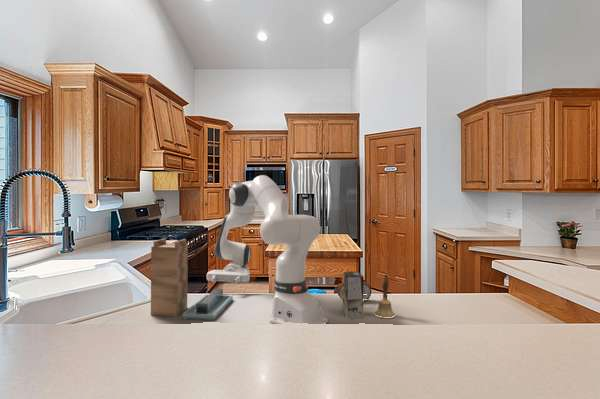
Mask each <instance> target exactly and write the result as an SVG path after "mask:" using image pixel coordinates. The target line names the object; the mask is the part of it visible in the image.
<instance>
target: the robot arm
mask: <svg viewBox="0 0 600 399" xmlns="http://www.w3.org/2000/svg"><path fill="white" fill-rule="evenodd" d="M228 198H229V200H230V203H231V204H232V205H231V211H230V213H226V215H225V216H224V218H223V219H222V223H221V227H220V229H219V234H218V237H217V241H216V243H215V245H214V249H213V253H214V255H215V256H216V258H217V259H221V260H229V261H231V262H229V263H228V264H227V265H226V266H225V267H224V268H223V269H212V270H210V271H209V270H208V272H207V273H206V280H207V281H209V282H210V281H211V282H213V283H217V282H228V283H232V284H237V283H249V282H250V267H249V266H247V265H248V264H249V263H250V260H251V255H252V252H251V248H250V246H249V244H247V243H243V242H238V241H237V242H236V241H232V240H229V239H228V236H229V235H228V234H229V232H230V230H231V229H233V228H240V227H244V226H247V225H249V224H250V223H252V221H253V219H254V218H255V214H256V213H255V211H256V206H259V208H260V209H261V212H262V214H263V215H264V218H263V220H262V221H261V223H260V226H259V235H260V238H261V239H262V241H263V243H265V244H268V245H274V246H280V245H281V246H283V245H286V247H285V249H284V250H283V251H282V253H281V254H279V255H278V256H277V258H276V261H275V279H274V283H273V286H274V290H275V291H274V295H273V301H272V309H271V314H270V318H269V323H271V324H275V325H278V324H288V323H293V324H294V323H301V324H302V323H308V324H324V323H327V324H328V322H329V321H328V320H329V319H328V318H327V317H325V316H323V315H322V308H321V305H320V303H319V302H318V301H317V300H316V299H315V297H313V296H312V294H311V293H310V292H309V289H308V288H309V287H311V286H310V285H311V284H310V283H307V282H306V279H305V275H306V274H305V272H306V261H307V255H308V252H309V250H310V248H311V246H312V244H313V243H314V241H315V240H317V238H318V237H319V235H320V233H321V232H320V231H321V225H320V221H319V220H318V218H316V217H315V216H313V215H308V214H290V213H287V212H288V210H289V206H290V203H289V202H290V201H289V199H288V198H287V197H286V195H285V194H284V193H283V191H282V190H281V189H280V186H278V185H277V183H276V182H275V181H274V180H273V179H272V178H270V177H269V176H268V175H265V174H263V175H262V174H261V175H258V176H256V177H254V178H253V180H248V181H242V182H236V183H232V185H230V187H229V190H228Z"/></svg>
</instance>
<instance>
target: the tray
mask: <svg viewBox="0 0 600 399" xmlns="http://www.w3.org/2000/svg"><path fill="white" fill-rule="evenodd" d="M208 295H209V294H204V295H203V296H202V297H201V298H199V299H198V300H197V301H196V302H195V303H194V304H192V305H191V306H190V307H188V309H187V308H186V309H185V310H184V312H182V317H181V318H182V320H194V319H204V320H203V321H213V320H214V321H215V320H216V319H217V318H218V317H219V316H220V314H221V313H222V312H224V310H225V309H226V308H227V307H228V306H229V305H230V304H231V303H232V301H233V295H225V294H223V296H222V297H221V298H220V299H219V300H218V302H217V303H216V304H215V305H214V306H213V307H212V308H211V310H210V311H209V312H208V314H198V313H196V303H201V302H202V301H203V300H204V299H205V298H206V297H207V296H208ZM184 318H186V319H184Z"/></svg>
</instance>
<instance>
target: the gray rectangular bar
mask: <svg viewBox="0 0 600 399" xmlns="http://www.w3.org/2000/svg"><path fill="white" fill-rule="evenodd" d="M223 290H224V289H223V288H214V289H213V290H212V291H211V292H210V293H209V294H207V295H208V296H207V297H206V298H205V299H204V300H203V301H202V302H201V303H196V302H195V303H196V313H198V314H208V312H209V311H210V310H211V308H212V307H213V306H214V305H215V304H216V303H217V302H218V300H219V299H220V298H221V297H222V296H223V295H224V293H223V292H224V291H223Z"/></svg>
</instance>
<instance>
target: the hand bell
mask: <svg viewBox="0 0 600 399" xmlns="http://www.w3.org/2000/svg"><path fill="white" fill-rule="evenodd" d="M389 285H390V280H389V277H388V274H387V273H386V274H383V277H382V280H381V287H382V291H383V292H382V299H381V300H378V307H377V309H376V310H375V311H374V313H375V314H376V315H378V316H382V317H392V316H394V315H396V313H395V312H394V311H393V309H392V302H391V301H390V300H389V299H388V289H389Z"/></svg>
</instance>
